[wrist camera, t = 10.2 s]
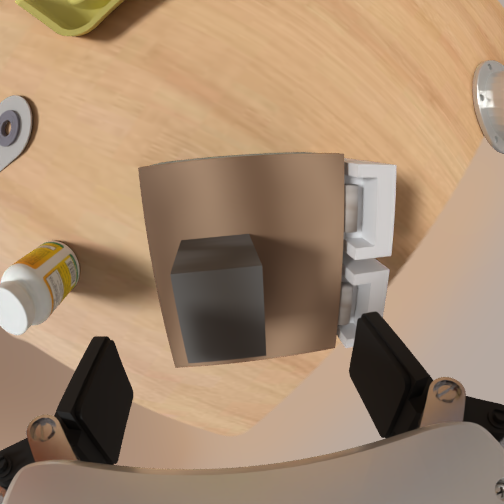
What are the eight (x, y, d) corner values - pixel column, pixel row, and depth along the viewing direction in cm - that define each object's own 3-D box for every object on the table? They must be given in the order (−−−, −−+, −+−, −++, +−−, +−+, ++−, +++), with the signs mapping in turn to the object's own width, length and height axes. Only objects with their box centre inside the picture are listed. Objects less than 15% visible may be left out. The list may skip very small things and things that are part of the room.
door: (176, 357, 21) (170, 418, 16) (143, 166, 17) (109, 175, 11) (343, 336, 23) (376, 386, 17) (352, 153, 18) (408, 159, 12)
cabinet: (182, 312, 28) (173, 375, 20) (161, 162, 23) (133, 170, 15) (336, 294, 30) (377, 346, 21) (340, 152, 25) (396, 157, 16)
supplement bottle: (90, 266, 25) (46, 319, 16) (64, 299, 26) (22, 354, 17) (53, 227, 24) (-5, 264, 15) (29, 263, 24) (-23, 307, 15)
